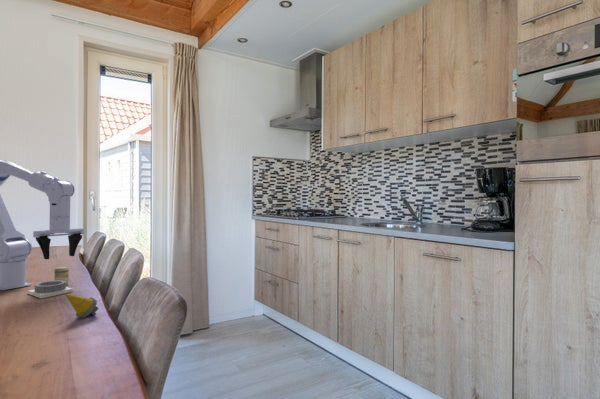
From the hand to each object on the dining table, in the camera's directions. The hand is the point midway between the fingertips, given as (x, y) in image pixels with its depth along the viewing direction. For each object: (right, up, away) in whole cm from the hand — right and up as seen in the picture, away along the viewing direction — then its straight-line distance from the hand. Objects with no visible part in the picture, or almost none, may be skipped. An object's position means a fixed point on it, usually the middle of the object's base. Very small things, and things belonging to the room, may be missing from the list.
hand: (59, 257), depth 120 cm
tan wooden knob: (-2, -10, +4) cm, 11 cm away
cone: (+26, -11, -29) cm, 40 cm away
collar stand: (+1, -10, -6) cm, 12 cm away
